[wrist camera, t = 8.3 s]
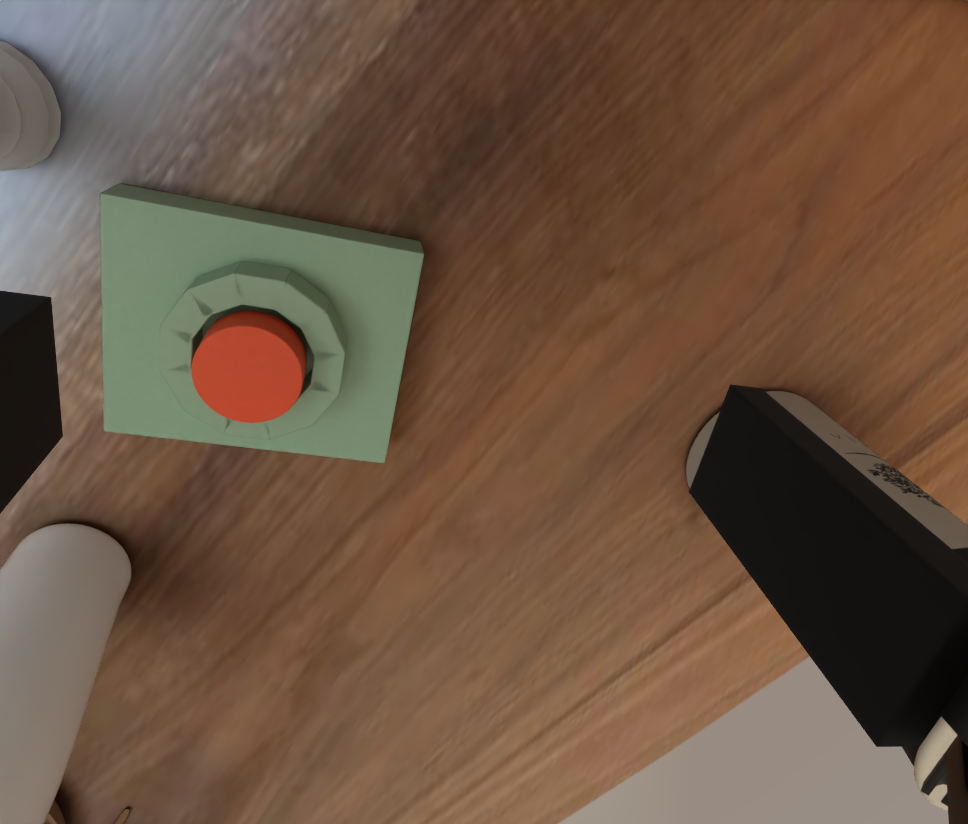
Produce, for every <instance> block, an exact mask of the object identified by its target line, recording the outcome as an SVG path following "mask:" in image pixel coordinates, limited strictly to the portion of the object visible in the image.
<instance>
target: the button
mask: <svg viewBox="0 0 968 824" xmlns="http://www.w3.org/2000/svg"><path fill="white" fill-rule="evenodd" d="M306 365H307V358H306V352H305V348H304V345H303V343H302V341H301V339H300V337H299V336H298V335H297V333H296V332H295V331H294V330H293V329H292V328H291V327H290V326H289V325H288V324H287V323H286V322H284V321H283V320H281V319H279V318H277V317H275V316H273V315H271V314H268V313H264V312H260V311H239V312H235V313H231V314H229V315H226V316H224V317H222V318H221V319H219V320H218V321H217V322H215V323H214V324H213V325H212V326H211V327H210V329H209V330H208V332H207V333H206V335H205V336H204V338H203V340H202V341H201V343H200V345H199V346H198V348H197V350H196V352H195V354H194V357H193V360H192V367H191V371H192V379H193V383H194V386H195V388H196V390H197V392H198V394H199V396H200V397H201V398H202V400H203V401H204V402H205V403H206V404H207V405H208V406H209V407H210V408H211V409H212V410H214V411H215V412H217V413H218V414H220V415H222V416H224V417H226V418H229V419H231V420H235V421H239V422H244V423H259V422H265V421H269V420H272V419H275V418H277V417H279V416H281V415H282V414H284V413H285V412H287V411H288V410H289V409H290V408H291V407H292V406H293V405H294V404H295V402H296V401H297V399H298V397H299V395H300V393H301V390H302V386H303V381H304V376H305V371H306Z"/></svg>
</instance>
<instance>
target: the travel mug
mask: <svg viewBox="0 0 968 824" xmlns="http://www.w3.org/2000/svg"><path fill="white" fill-rule="evenodd" d="M766 393H768V394H769V395H770V396H771V397H772V398H773V399H775V400H776V401H777V402H778V403H779V404H781V405H782V406H783V407H784V408H785V409H787V410H788V411H789V412H790V413H791V414H792V415H794V416H795V417H796V418H797V419H798V420H800V421H801V422H802V423H803V424H804V425H805V426H807V427H808V428H809V429H810V430H811V431H813V432H814V433H815V434H816V435H817V436H819V437H820V438H821V439H822V440H823V441H824V442H826V443H827V444H828V445H829V446H830V447H832V448H833V449H834V450H835V451H836V452H837V453H839V454H840V455H841V456H842V457H843V458H845V459H846V460H847V461H848V462H849V463H850V464H852V465H853V466H854V467H855V468H856V469H858V470H859V471H860V472H861V473H862V474H864V475H865V476H866V477H867V478H868V479H869V480H871V481H872V482H873V483H874V484H875V485H877V486H878V487H879V488H880V489H881V490H882V491H884V492H885V493H886V494H887V495H888V496H890V497H891V498H892V499H893V500H894V501H896V502H897V503H898V504H899V505H900V506H901V507H903V508H904V509H905V510H906V511H907V512H909V513H910V514H911V515H912V516H913V517H914V518H916V519H917V520H918V521H919V522H920V523H922V524H923V525H924V526H925V527H926V528H928V529H929V530H930V531H931V532H932V533H933V534H935V535H936V536H937V537H938V538H939V539H941V540H942V541H943V542H944V543H945V544H946V545H948V546H949V547H950V548H951V549H952V550H954V551H955V552H956V553H957V554H958V555H960V556H961V557H962V558H963V559H964V560H965V561H967V562H968V525H967V524H965V523H964V522H963V521H961V520H960V519H959V518H958V517H956V516H955V515H954V514H952V513H951V512H950V511H949V510H947V509H946V508H945V507H944V506H942V505H941V504H940V503H938V502H937V501H936V500H935V499H933V498H932V497H931V496H929V495H928V494H927V493H926V492H924V491H923V490H922V489H920V488H919V487H918V486H917V485H915V484H914V483H913V482H912V481H910V480H909V479H908V478H906V477H905V476H904V475H903V474H901V473H900V472H899V471H897V470H896V469H895V468H894V467H892V466H891V465H890V464H889V463H887V462H886V461H885V460H883V459H882V458H881V457H880V456H878V455H877V454H876V453H874V452H873V451H872V450H871V449H869V448H868V447H867V446H866V445H864V444H863V443H862V442H860V441H859V440H858V439H857V438H855V437H854V436H853V435H851V434H850V433H849V432H848V431H846V430H845V429H844V428H843V427H841V426H840V425H839V424H837V423H836V422H835V421H834V420H832V419H831V418H830V417H828V416H827V415H826V414H825V413H823V412H822V411H821V410H820V409H818V408H817V407H816V406H814V405H813V404H812V403H811V402H809V401H808V400H806V399H805V398H803V397H801V396H799V395H796V394H793V393H789V392H783V391H768V392H766ZM719 413H720V412H719ZM719 413H717V414H716V415H715V416H714V417H713V418H712V419H711V420H710V421H709V422H708V423H707V424H706V425H705V426H704V427H703V429H702V430H701V431H700V433H699V434H698V436H697V438H696V439H695V441H694V443H693V445H692V447H691V450H690V452H689V456H688V460H687V466H686V477H687V483H688V486H689V489H690V487H691V485H692V482H693V480H694V477H695V475H696V472H697V469H698V467H699V464H700V462H701V459H702V456H703V454H704V451H705V449H706V446H707V444H708V441H709V438H710V436H711V433H712V431H713V428H714V425H715V423H716V420H717V418H718V415H719ZM956 737H957V734H956V733H955V732H954V730H953V729H952V728H951V727H950V726H949V725H948V724H947V722H946V721H945V720H944V719H943V718H942V717H940V718H939V720H938V721H937V723H936V724H935V726H934V727H933V728H932V730H931V731H930V733H929V734H928V736H927V737H926V738H925V740H924V741H923V743H922V744H921V746H902V747H903V749H904V751H905V753H906V754H907V756H908V758H909V759H910V761H911V763H912V764H913V766H914V776H915V781H916V783H917V786H918V789H919V790H920V792H921V788H922V785H923V782H924V781H925V779H926V778H927V776H928V775H929V774H930V772H931V771H932V770H933V768H934V767H935V765H936V764H937V763H938V761H939V760H940V759H941V757H942V756H943V754H944V753H945V752H946V750H947V749H948V748H949V746H950V745H951V743H952V742H953V741H954V739H955V738H956ZM921 793H922V795H923V796H924V797H925V798H926V799H927V800H928V801H929V802H931V803H932V804H934V805H935V806H937V807H939V808H941V809H944V810H947V811H948V806H946V805H945V804H943V803H941V800H942V799H943V797H944V796H945V795H946V793H947V785H944V784H942V785H938V786H936V787H935V788H934V789H933V791H932V792H931V793H930V795H929V796H928V795H926V794H925V793H923V792H921Z"/></svg>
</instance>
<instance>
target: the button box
mask: <svg viewBox="0 0 968 824" xmlns="http://www.w3.org/2000/svg"><path fill="white" fill-rule="evenodd" d="M100 237H101V293H102V349H103V404H104V431H107V432H116V433H124V434H133V435H142V436H151V437H159V438H168V439H177V440H186V441H195V442H203V443H212V444H221V445H230V446H238V447H247V448H256V449H265V450H273V451H282V452H291V453H300V454H308V455H317V456H326V457H335V458H344V459H352V460H361V461H370V462H379V463H385V461H386V455H387V450H388V445H389V439H390V434H391V429H392V424H393V418H394V413H395V408H396V402H397V397H398V392H399V386H400V381H401V376H402V370H403V365H404V360H405V354H406V349H407V344H408V338H409V333H410V328H411V323H412V317H413V312H414V307H415V301H416V296H417V291H418V285H419V280H420V275H421V269H422V264H423V259H424V252H423V249H422V245H421V242H420V241H416V240H411V239H406V238H401V237H396V236H390V235H385V234H380V233H375V232H370V231H364V230H359V229H354V228H349V227H343V226H338V225H333V224H328V223H323V222H317V221H312V220H307V219H302V218H297V217H291V216H286V215H281V214H276V213H271V212H265V211H260V210H255V209H250V208H245V207H239V206H234V205H229V204H224V203H219V202H213V201H208V200H203V199H198V198H193V197H187V196H182V195H177V194H172V193H167V192H161V191H156V190H151V189H146V188H141V187H135V186H130V185H125V184H117V185H115V186H113V187H111V188H109V189H107V190H105V191H103V192H101V193H100ZM239 311H260V312H264V313H268V314H271V315H273V316H275V317H277V318H279V319H281V320H283V321H284V322H286V323H287V324H288V325H289V326H290V327H291V328H292V329H293V330H294V331H295V332H296V333H297V335H298V336H299V337H300V339H301V341H302V343H303V345H304V348H305V352H306V358H307V365H306V371H305V376H304V381H303V386H302V390H301V393H300V395H299V397H298V399H297V401H296V402H295V404H294V405H293V406H292V407H291V408H290V409H289V410H288V411H287V412H285V413H284V414H282V415H281V416H279V417H277V418H275V419H272V420H269V421H265V422H259V423H244V422H239V421H235V420H231V419H229V418H226V417H224V416H222V415H220V414H218V413H217V412H215V411H214V410H212V409H211V408H210V407H209V406H208V405H207V404H206V403H205V402H204V401H203V400H202V398H201V397H200V396H199V394H198V392H197V390H196V388H195V386H194V383H193V379H192V371H191V367H192V360H193V357H194V354H195V352H196V350H197V348H198V346H199V345H200V343H201V341H202V340H203V338H204V336H205V335H206V333H207V332H208V330H209V329H210V327H211V326H212V325H213V324H214V323H215V322H217V321H218V320H219V319H221V318H222V317H224V316H226V315H229V314H231V313H235V312H239Z"/></svg>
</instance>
